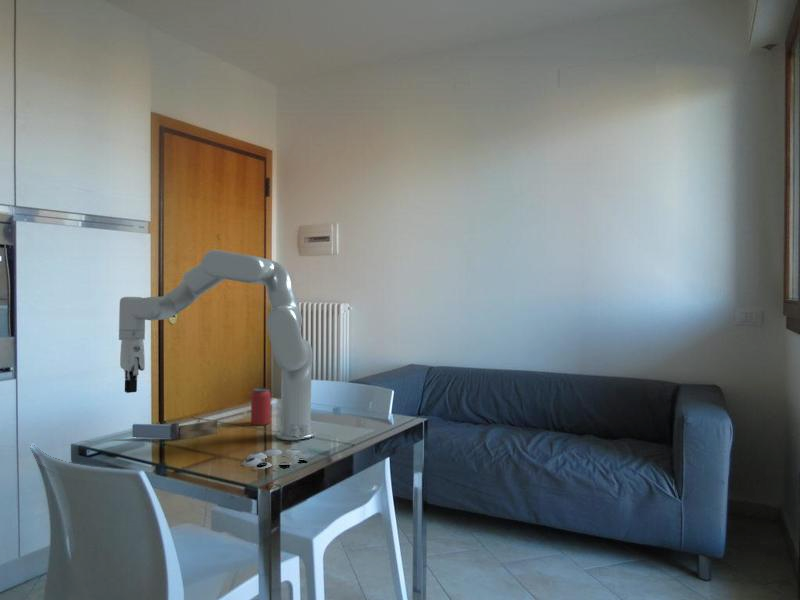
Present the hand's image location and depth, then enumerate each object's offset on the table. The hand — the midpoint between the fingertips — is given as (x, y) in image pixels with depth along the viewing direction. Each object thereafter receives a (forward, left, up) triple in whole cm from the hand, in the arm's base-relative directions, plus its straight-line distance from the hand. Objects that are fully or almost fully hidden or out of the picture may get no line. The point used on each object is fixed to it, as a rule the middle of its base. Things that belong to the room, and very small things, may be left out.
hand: (130, 391), depth 180 cm
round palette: (-45, -39, -14) cm, 62 cm away
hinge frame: (-10, -19, -13) cm, 26 cm away
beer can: (+1, -41, -14) cm, 44 cm away
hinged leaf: (-9, -7, -13) cm, 17 cm away
